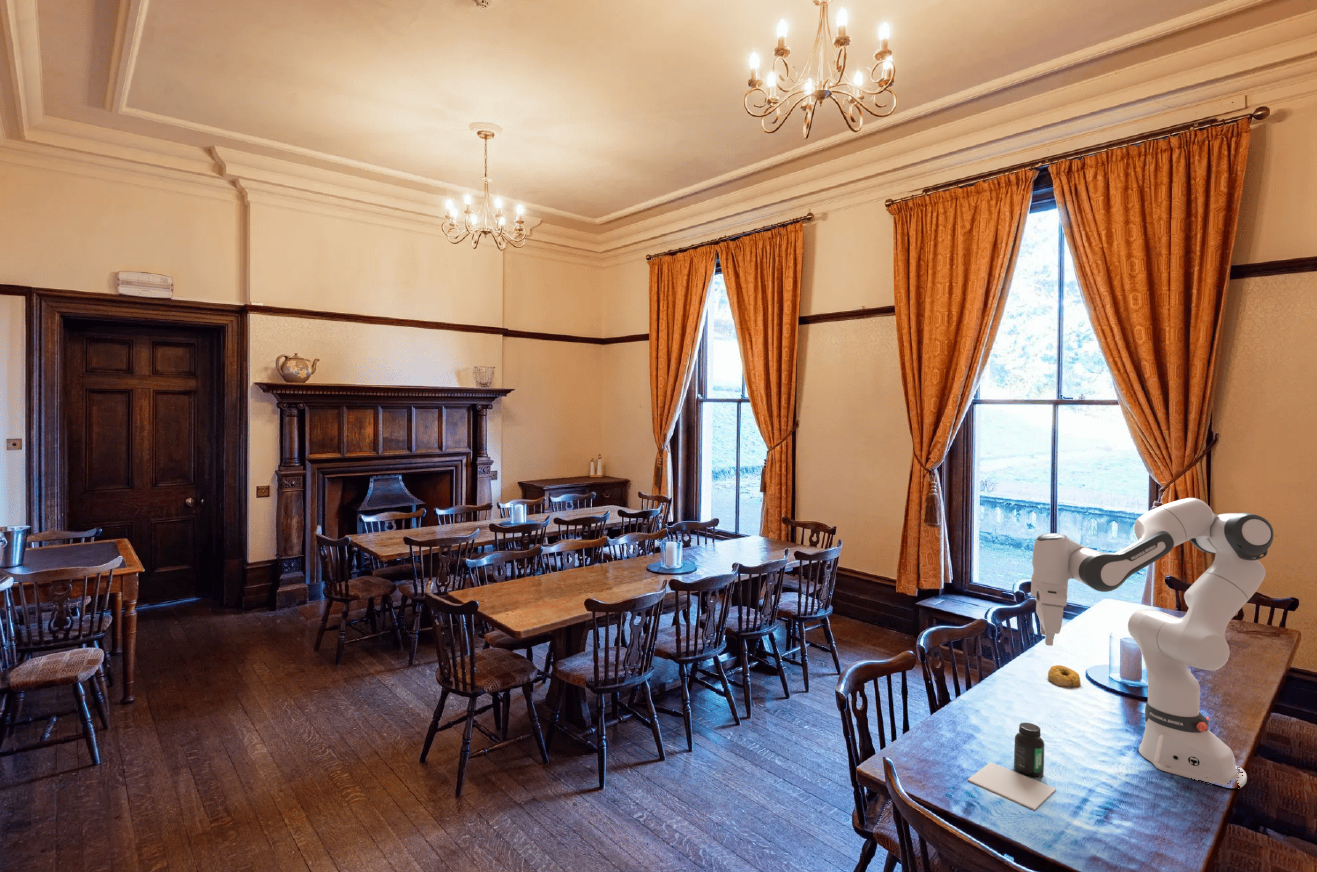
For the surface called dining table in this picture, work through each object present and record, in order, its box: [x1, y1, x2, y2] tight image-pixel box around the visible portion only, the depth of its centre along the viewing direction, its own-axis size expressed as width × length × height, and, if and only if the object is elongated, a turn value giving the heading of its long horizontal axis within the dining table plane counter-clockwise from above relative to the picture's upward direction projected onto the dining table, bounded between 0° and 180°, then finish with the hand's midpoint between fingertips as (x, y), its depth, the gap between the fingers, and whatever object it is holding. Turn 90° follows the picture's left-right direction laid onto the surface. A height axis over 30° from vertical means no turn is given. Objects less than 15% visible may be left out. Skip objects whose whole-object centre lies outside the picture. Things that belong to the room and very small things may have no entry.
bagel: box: [1047, 664, 1082, 688], centre depth 230 cm, size 10×11×5 cm
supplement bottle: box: [1013, 722, 1045, 779], centre depth 173 cm, size 7×7×12 cm
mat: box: [967, 761, 1057, 811], centre depth 167 cm, size 16×13×1 cm
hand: (1046, 639), depth 186 cm, fingers open, 8 cm apart
